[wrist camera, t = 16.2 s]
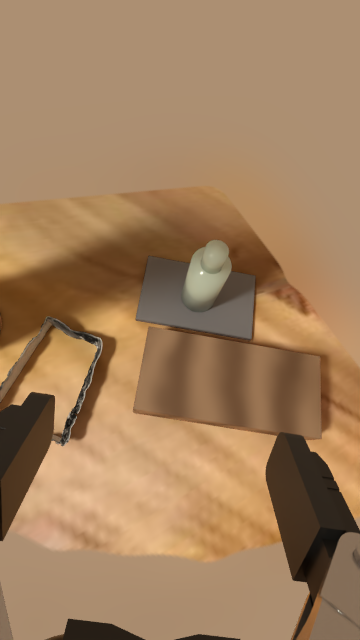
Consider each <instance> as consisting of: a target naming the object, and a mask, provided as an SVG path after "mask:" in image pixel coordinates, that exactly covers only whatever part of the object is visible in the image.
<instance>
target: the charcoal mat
mask: <svg viewBox="0 0 360 640" xmlns="http://www.w3.org/2000/svg"><path fill="white" fill-rule="evenodd" d="M189 266H190V263H185V262H180V261H174V260H169V259H164V258H158V257H153V256H148V261H147V266H146V271H145V276H144V281H143V285H142V290H141V295H140V300H139V305H138V310H137V315H136V320H137V321H142V322H148V323H154V324H159V325H165V326H171V327H176V328H182V329H188V330H194V331H199V332H205V333H211V334H216V335H222V336H228V337H233V338H239V339H245V340H251V339H252V323H253V308H254V292H255V276H254V275H249V274H244V273H238V272H233V271H231V272H230V274H229V276H228V278H227V280H226V282H225V284H224V285H223V287H222V289H221V291H220V293H219V295H218V297H217V298H216V300H215V302H214V304H213V306H212V307H211V308H210V309H209V310H207V311H205V312H193V311H191V310H189V309H188V308H187V307H186V306H185V305H184V304H183V302H182V299H181V293H182V289H183V286H184V283H185V279H186V276H187V272H188V269H189Z"/></svg>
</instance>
